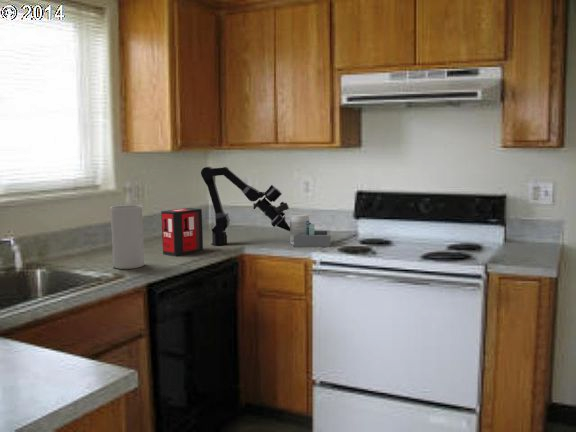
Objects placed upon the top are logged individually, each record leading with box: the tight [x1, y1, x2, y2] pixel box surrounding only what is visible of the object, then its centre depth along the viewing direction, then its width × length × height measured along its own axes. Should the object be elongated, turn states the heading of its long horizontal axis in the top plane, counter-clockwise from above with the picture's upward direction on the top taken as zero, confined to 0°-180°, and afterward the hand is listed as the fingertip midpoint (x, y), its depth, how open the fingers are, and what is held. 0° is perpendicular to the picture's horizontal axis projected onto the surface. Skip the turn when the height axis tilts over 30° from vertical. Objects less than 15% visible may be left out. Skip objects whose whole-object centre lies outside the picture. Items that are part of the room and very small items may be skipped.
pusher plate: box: [309, 223, 316, 235], centre depth 300 cm, size 2×13×9 cm, turn 177°
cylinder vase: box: [110, 204, 145, 270], centre depth 251 cm, size 12×12×25 cm
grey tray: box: [293, 230, 331, 248], centre depth 300 cm, size 18×17×6 cm
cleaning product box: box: [160, 207, 204, 257], centre depth 282 cm, size 16×9×20 cm, turn 139°
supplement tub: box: [289, 213, 310, 246], centre depth 300 cm, size 10×10×15 cm
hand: (290, 230), depth 300 cm, fingers closed, pressing on supplement tub
